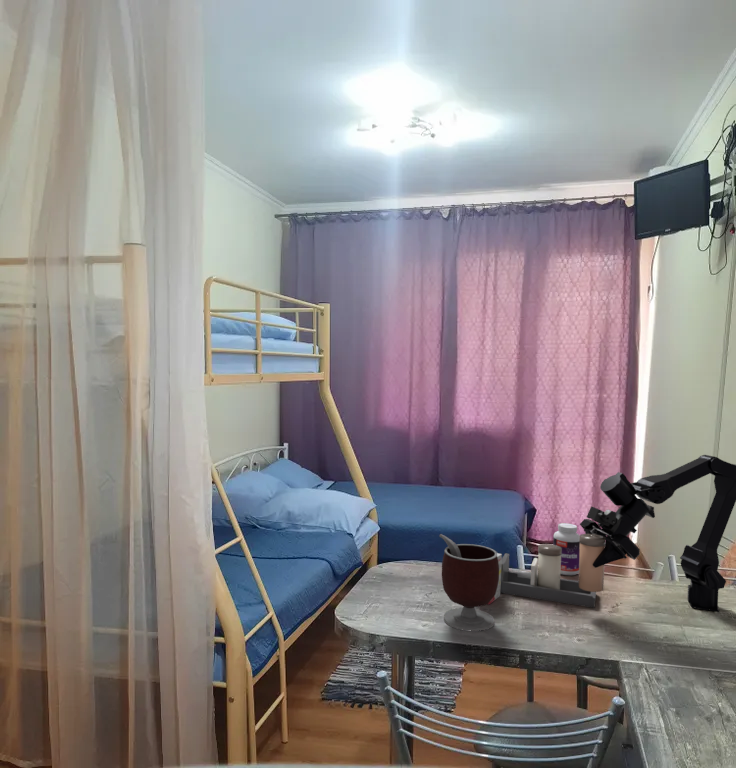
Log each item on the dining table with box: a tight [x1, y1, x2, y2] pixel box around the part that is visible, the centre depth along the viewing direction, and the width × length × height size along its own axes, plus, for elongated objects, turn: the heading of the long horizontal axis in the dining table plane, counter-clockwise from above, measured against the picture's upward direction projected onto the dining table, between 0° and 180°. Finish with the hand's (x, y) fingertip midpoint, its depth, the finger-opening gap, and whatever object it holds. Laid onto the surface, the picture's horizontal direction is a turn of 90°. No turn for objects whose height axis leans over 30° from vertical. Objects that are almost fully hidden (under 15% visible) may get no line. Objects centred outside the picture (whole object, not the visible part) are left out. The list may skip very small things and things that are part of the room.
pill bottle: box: [552, 522, 581, 576], centre depth 188 cm, size 8×8×14 cm
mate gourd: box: [439, 533, 499, 632], centre depth 151 cm, size 16×14×20 cm
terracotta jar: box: [578, 533, 606, 593], centre depth 156 cm, size 6×6×13 cm
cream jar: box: [537, 543, 562, 590], centre depth 170 cm, size 6×6×13 cm
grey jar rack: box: [500, 553, 597, 609], centre depth 170 cm, size 25×10×8 cm, turn 68°
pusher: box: [516, 557, 538, 586], centre depth 172 cm, size 5×7×8 cm
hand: (586, 562), depth 156 cm, fingers closed on terracotta jar, 6 cm apart
